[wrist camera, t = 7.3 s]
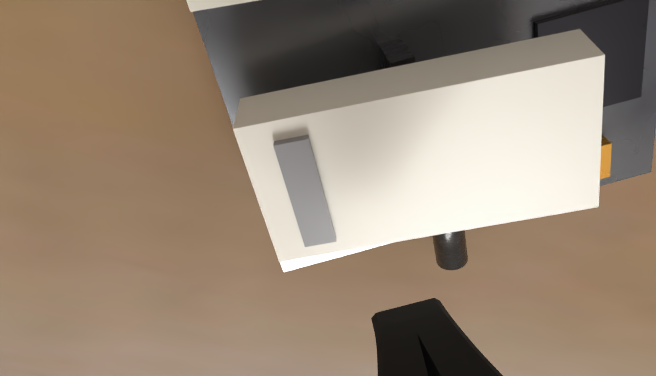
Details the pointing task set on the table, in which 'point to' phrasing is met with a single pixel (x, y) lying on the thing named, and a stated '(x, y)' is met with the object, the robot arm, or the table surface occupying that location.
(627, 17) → the grey slab
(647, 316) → the table surface
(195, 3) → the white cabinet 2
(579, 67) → the white rectangular block
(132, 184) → the table surface
